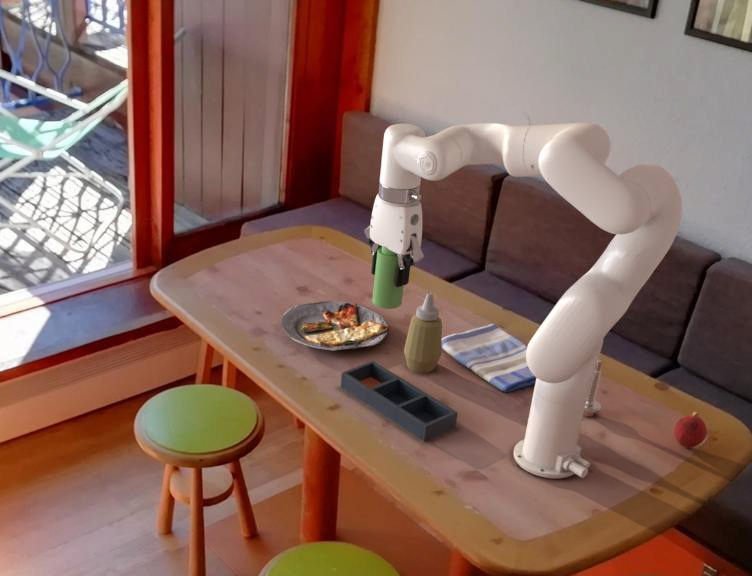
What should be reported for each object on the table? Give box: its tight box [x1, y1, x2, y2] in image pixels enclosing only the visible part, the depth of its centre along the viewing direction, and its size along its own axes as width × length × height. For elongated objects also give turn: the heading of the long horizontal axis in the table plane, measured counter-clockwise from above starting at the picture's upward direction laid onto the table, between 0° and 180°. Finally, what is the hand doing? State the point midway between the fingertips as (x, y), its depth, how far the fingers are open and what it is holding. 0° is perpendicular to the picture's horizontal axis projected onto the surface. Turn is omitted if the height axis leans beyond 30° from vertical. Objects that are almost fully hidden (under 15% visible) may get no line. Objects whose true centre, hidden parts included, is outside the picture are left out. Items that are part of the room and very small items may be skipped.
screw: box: [583, 358, 602, 418], centre depth 213 cm, size 13×5×5 cm
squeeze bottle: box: [403, 292, 443, 374], centre depth 227 cm, size 8×8×18 cm
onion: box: [673, 411, 707, 449], centre depth 205 cm, size 6×6×8 cm
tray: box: [340, 360, 459, 442], centre depth 216 cm, size 25×9×4 cm, turn 37°
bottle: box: [371, 246, 407, 310], centre depth 205 cm, size 6×6×17 cm
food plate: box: [280, 300, 390, 352], centre depth 244 cm, size 25×23×4 cm
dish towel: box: [441, 323, 536, 393], centre depth 234 cm, size 17×24×3 cm
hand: (389, 278), depth 207 cm, fingers closed on bottle, 5 cm apart
